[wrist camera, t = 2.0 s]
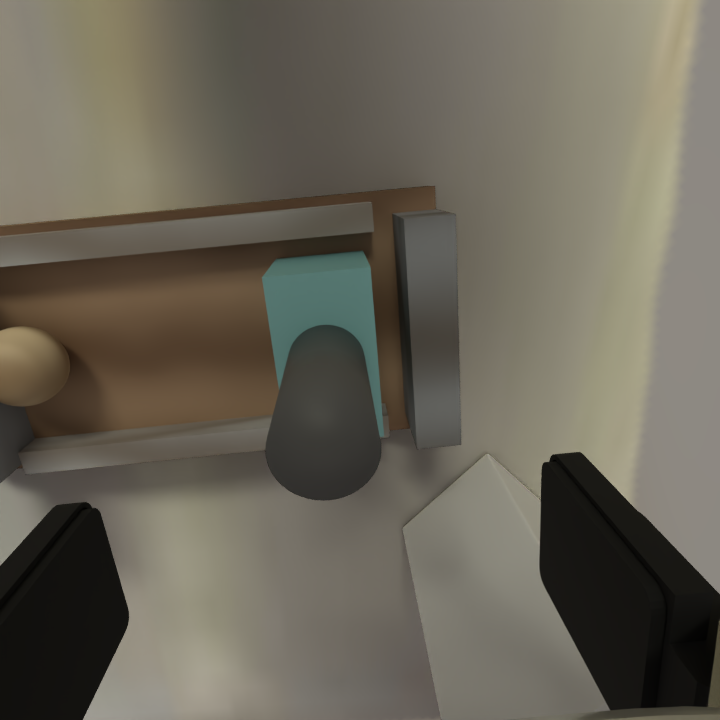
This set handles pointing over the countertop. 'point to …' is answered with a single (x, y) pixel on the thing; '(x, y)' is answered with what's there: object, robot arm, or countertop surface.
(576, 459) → the robot arm
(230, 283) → the base
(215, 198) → the countertop surface
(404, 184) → the countertop surface
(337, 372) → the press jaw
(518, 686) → the milk carton
